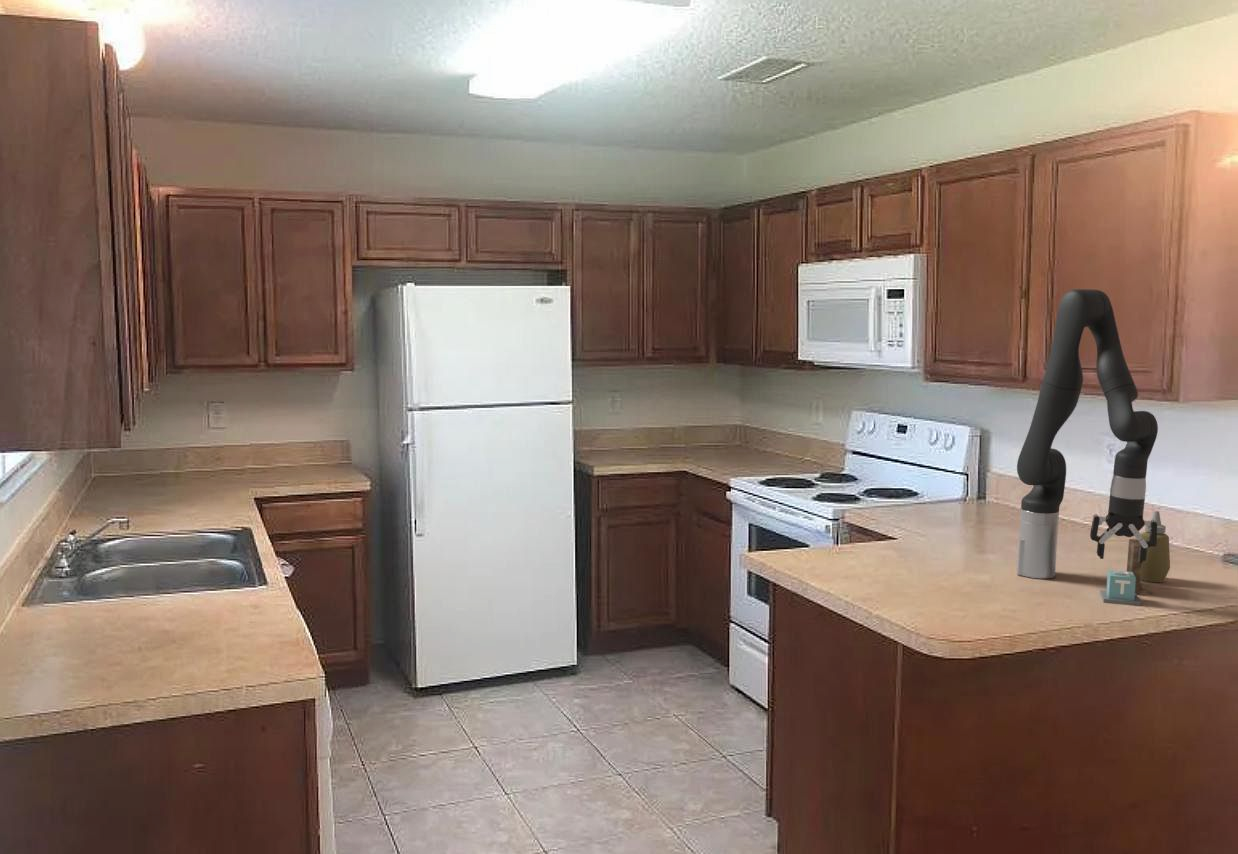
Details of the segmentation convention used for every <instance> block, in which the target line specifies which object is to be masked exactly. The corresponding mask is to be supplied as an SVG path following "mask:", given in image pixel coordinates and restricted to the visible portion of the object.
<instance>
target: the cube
mask: <svg viewBox="0 0 1238 854" xmlns="http://www.w3.org/2000/svg"><path fill="white" fill-rule="evenodd" d="M1135 583H1136V577H1135V576H1134V574H1133V572H1127V571H1122V570H1111V569H1108V570H1107V575H1106V590H1105V591H1106V593H1107V595H1108V597H1109V598H1113V599H1123V600H1134V596H1135Z"/></svg>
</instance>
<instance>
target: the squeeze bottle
mask: <svg viewBox="0 0 1238 854" xmlns="http://www.w3.org/2000/svg"><path fill="white" fill-rule="evenodd" d="M1151 520H1155V521H1156V523H1157V545H1156V546H1155V547H1153V546H1152V547H1148V548H1147V554H1146V560H1145V561H1143V563H1141V576H1140V581H1141V580H1142V581H1145V582H1148V583H1163V582H1165V580H1166V578H1167V575H1168V574H1169V571H1170V569H1171V560H1170V559H1171V558H1170V552H1171V551H1170V536H1169V535H1168V534H1166V527H1167V526H1166V525H1164V524H1162V521H1161V514H1160V511H1158V510H1154V511H1153V514H1152V517H1151V519H1150V521H1151ZM1144 526H1145V528H1144V531H1143V532H1141V533H1140V534H1141V536H1142V537H1143V539H1144V540H1145V541H1148V540H1149V539H1150V530H1148V529H1147V526H1146V525H1144Z"/></svg>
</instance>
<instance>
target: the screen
mask: <svg viewBox="0 0 1238 854" xmlns="http://www.w3.org/2000/svg"><path fill="white" fill-rule="evenodd" d="M1140 546H1141V544H1140V542H1139V541H1138V540H1137V538H1135V539H1133V538H1132V539H1131V538H1129V539H1128V549H1127V550H1128V551H1127V563H1126V572H1133V574H1134V576H1135V577H1136V583H1135V593H1136V594H1137V596H1139V595H1141V596H1146V595H1147V590H1146V589H1145V588H1143V583H1142V582H1141V579H1140V576H1141V563H1139V562H1138V556H1139V547H1140Z"/></svg>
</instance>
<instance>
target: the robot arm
mask: <svg viewBox="0 0 1238 854" xmlns="http://www.w3.org/2000/svg"><path fill="white" fill-rule="evenodd" d="M1055 319H1056V320H1055V326H1054V332H1053V339H1052V344H1051V348H1050V352H1049V357H1048V360H1047V365H1046V369H1045V372H1044V375H1043V378H1042V381H1041V386H1040V389H1039V394H1038V399H1037V403H1036V406H1035V409H1034V413H1033V416H1032V420H1031V423H1030V427H1029V430H1028V432H1027V435H1026V437H1025V440H1024V442H1023V445H1022V448H1021V451H1020V452H1019V456H1018V459H1017V461H1016V462H1017V465H1016V471H1017V476H1018V478H1019V480H1020V481H1021V482H1022V483H1023V484H1025V485H1027V486H1032V488H1031V490H1030V491H1029V492H1028V493H1027V494H1026V495H1025V496H1023V497H1022V499H1021V502H1020V503H1021V504H1020V521H1019V522H1020V523H1019V535H1018V543H1017V544H1018V545H1017V560H1016V561H1017V562H1016V573H1017V576H1023V577H1027V578H1031V579H1032V578H1033V579H1052V578H1054V577H1056V568H1057V567H1056V565H1057V563H1056V562H1057V551H1058V549H1057V548H1058V537H1059V536H1058V534H1059V519H1060V506H1061V504H1062V503H1063V499H1064V496H1065V495H1064V494H1065V486H1066V480H1067V479H1066V478H1067V463H1066V458H1065V456H1064V455H1063V453H1061V451H1060V450H1058V449H1056V448H1052V445H1053V442H1054V440H1055V438H1056V436H1057V434H1058V432H1059V431H1060V430H1061V429H1062V427H1063V426H1064V425H1065V423H1066V421H1068V419H1069V418H1070V417H1071V416H1072V414H1073V412H1074V410H1075V409H1076V407H1077V405H1078V402H1079V398H1080V395H1081V391H1082V387H1083V383H1084V375H1083V374H1084V373H1083V369H1082V364H1081V359H1080V355H1079V354H1080V353H1079V349H1080V343H1081V340H1082V336H1083V332H1084V330H1085V328H1088V329H1089V331H1090V333H1091V335H1092V337H1093V339H1094V342H1095V345H1096V368H1095V369H1096V375H1097V380H1098V383H1099V385H1100V388H1101V390H1102V393H1103V395H1104V398H1105V400H1106V405H1107V414H1108V415H1107V416H1108V422H1109V423H1108V424H1109V428H1110V430H1111V433H1112V434H1113V435H1114V437H1115V438H1117V439H1118V440H1119V441H1121V442H1126V444H1125V447H1124V448H1123V449H1121V450H1119V451H1118V452H1117V453H1116V454H1115V456H1114V462H1113V463H1114V464H1113V474H1112V479H1111V483H1110V488H1109V501H1108V511H1107V514H1106V516H1101V515H1098V514H1094V515H1092V522H1091V528H1090V533H1089V537H1090V539H1091V540H1092V541H1095V542H1096V543H1097V546H1096V555H1097V556H1098V557H1099V559H1100V560H1104V556H1105V555H1104V554H1105V547H1106V544H1105V543H1106V542H1107V541H1108V540H1109V539H1111V538H1112V537H1113V536H1114V535H1115V536H1117V537H1127V538H1131V537H1135V539H1136V540H1138V541H1139V542H1140V544H1141V546H1140V547H1139V556H1138V562H1139V563H1143V561H1145V560H1146V554H1147V548H1148V547H1152V546H1153V547H1155V546H1156V545H1157V523H1156V521H1155V520H1151V519H1150V520H1144V512H1145V511H1144V509H1145V501H1146V493H1147V492H1146V491H1147V472H1148V471H1147V470H1148V460H1149V458H1150V455H1151V453H1152V450H1153V448H1154V445H1155V442H1156V440H1157V437H1158V430H1159V428H1158V427H1159V425H1158V421H1157V418H1156V416H1155V415H1154V414H1153V413H1152V412H1150V411H1146V410H1138V411H1137V410H1136V411H1134V408H1133V402H1134V401H1136V400H1137V399H1138V396H1139V393H1138V388H1137V386H1136V384H1135V380H1134V379H1133V377H1132V374H1131V371H1130V369H1129V367H1128V364H1127V362H1126V359H1125V356H1124V353H1123V349H1122V344H1121V340H1120V335H1119V332H1118V326H1117V322H1116V317H1115V313H1114V308H1113V305H1112V302H1111V300H1110V297H1109V296H1108V295H1107V294H1106V293H1105V292H1104V291H1102V290H1099V289H1088V288H1087V289H1086V288H1085V289H1083V288H1082V289H1081V288H1077V289H1075V288H1074V289H1071V290H1068V291H1066V293H1064V295H1063V296H1062V297H1061V299H1060V301H1059V305H1058V309H1057V313H1056V318H1055ZM1103 523H1106V525H1107V526H1108V527H1107V528H1106V529H1105V530H1104V531H1103V532H1102V534H1101V535H1098V531H1099V526H1102V525H1103ZM1145 525H1146V526H1147V529H1148V530H1150V539H1149V540H1148V541H1145V540H1144V539H1143V537H1142V536H1141V533H1140V531H1141V529H1143V527H1144V526H1145Z"/></svg>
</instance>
